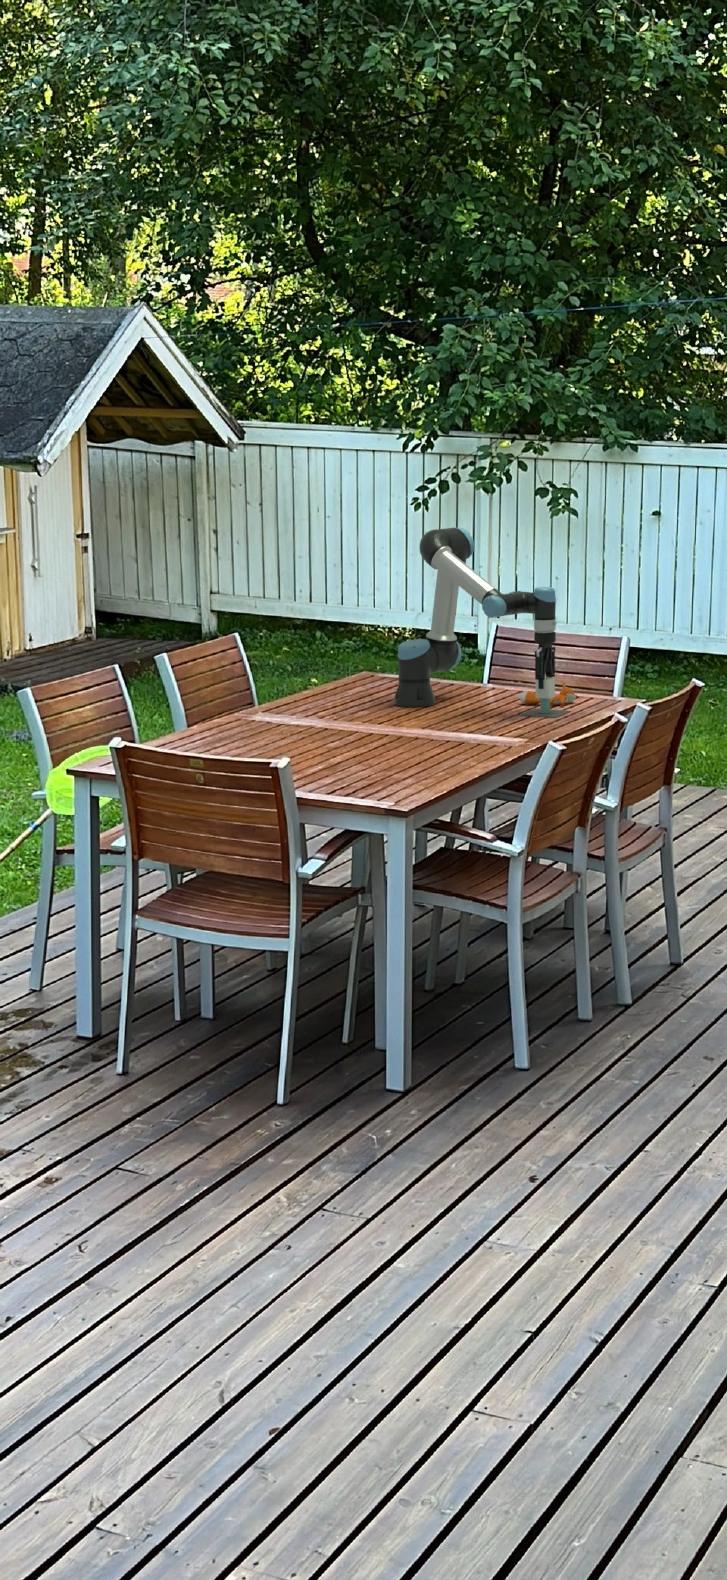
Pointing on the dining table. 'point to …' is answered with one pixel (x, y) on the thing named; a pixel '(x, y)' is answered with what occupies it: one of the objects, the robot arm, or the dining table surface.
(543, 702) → the post
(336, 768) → the dining table surface
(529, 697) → the toy
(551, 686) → the light grey block
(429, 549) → the robot arm
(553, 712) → the mat
